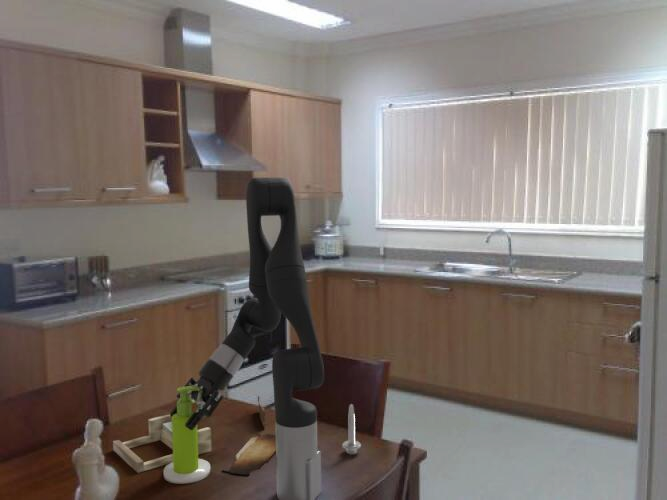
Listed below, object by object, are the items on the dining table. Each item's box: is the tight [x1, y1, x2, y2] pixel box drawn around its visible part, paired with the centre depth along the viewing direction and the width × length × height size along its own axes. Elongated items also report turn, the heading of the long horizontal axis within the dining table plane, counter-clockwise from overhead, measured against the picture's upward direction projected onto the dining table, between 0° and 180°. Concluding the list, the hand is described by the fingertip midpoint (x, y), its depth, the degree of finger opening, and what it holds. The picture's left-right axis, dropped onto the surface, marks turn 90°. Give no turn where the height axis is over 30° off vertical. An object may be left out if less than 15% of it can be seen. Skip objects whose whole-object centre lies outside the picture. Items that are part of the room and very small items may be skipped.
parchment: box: [222, 433, 276, 477], centre depth 159 cm, size 25×10×1 cm, turn 167°
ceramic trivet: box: [163, 458, 211, 485], centre depth 149 cm, size 11×11×1 cm
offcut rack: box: [112, 413, 212, 474], centre depth 161 cm, size 20×17×6 cm
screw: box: [341, 403, 362, 455], centre depth 159 cm, size 13×5×5 cm
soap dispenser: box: [172, 386, 201, 474], centre depth 148 cm, size 6×7×20 cm
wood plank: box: [257, 396, 267, 430], centre depth 182 cm, size 15×2×5 cm, turn 12°
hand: (180, 422), depth 147 cm, fingers open, 8 cm apart
